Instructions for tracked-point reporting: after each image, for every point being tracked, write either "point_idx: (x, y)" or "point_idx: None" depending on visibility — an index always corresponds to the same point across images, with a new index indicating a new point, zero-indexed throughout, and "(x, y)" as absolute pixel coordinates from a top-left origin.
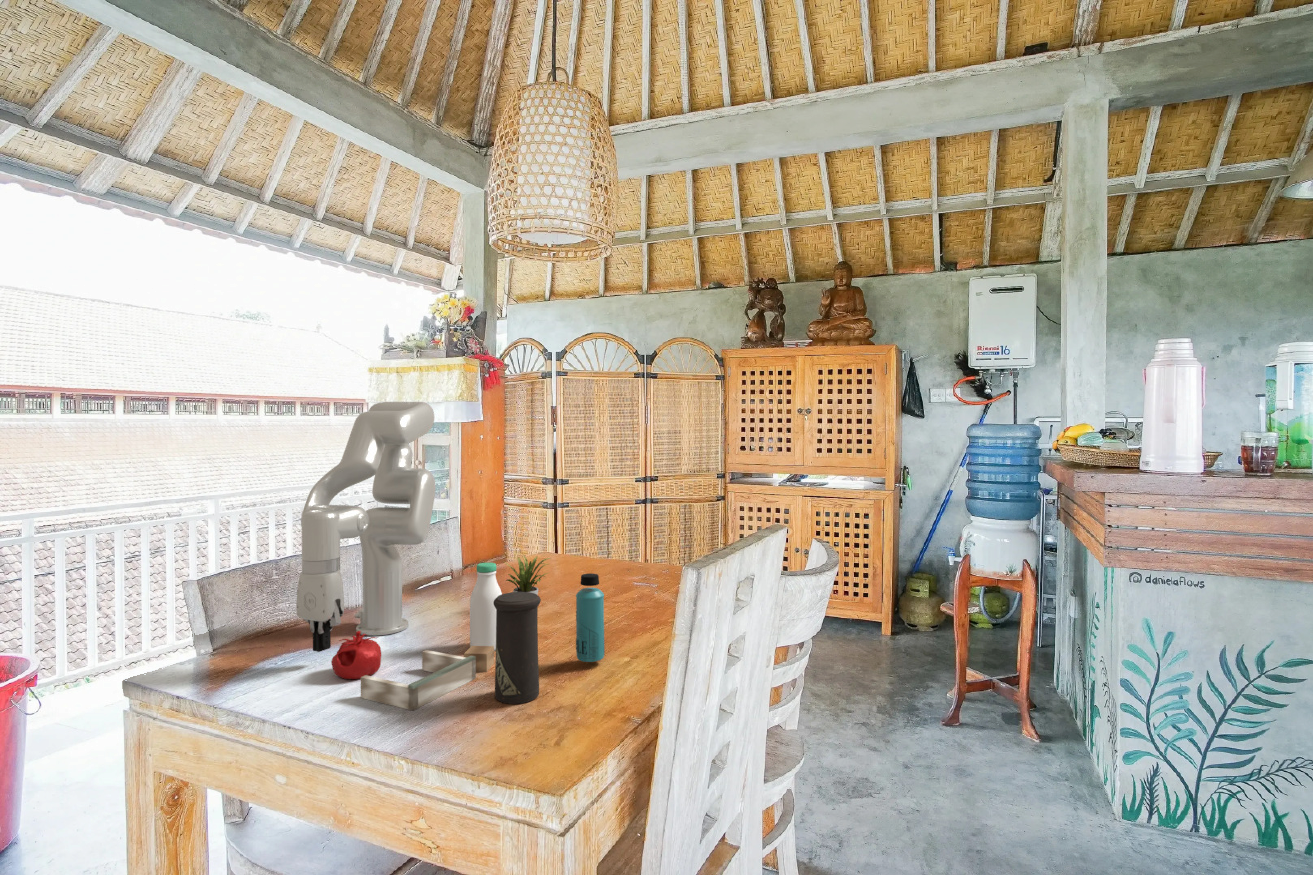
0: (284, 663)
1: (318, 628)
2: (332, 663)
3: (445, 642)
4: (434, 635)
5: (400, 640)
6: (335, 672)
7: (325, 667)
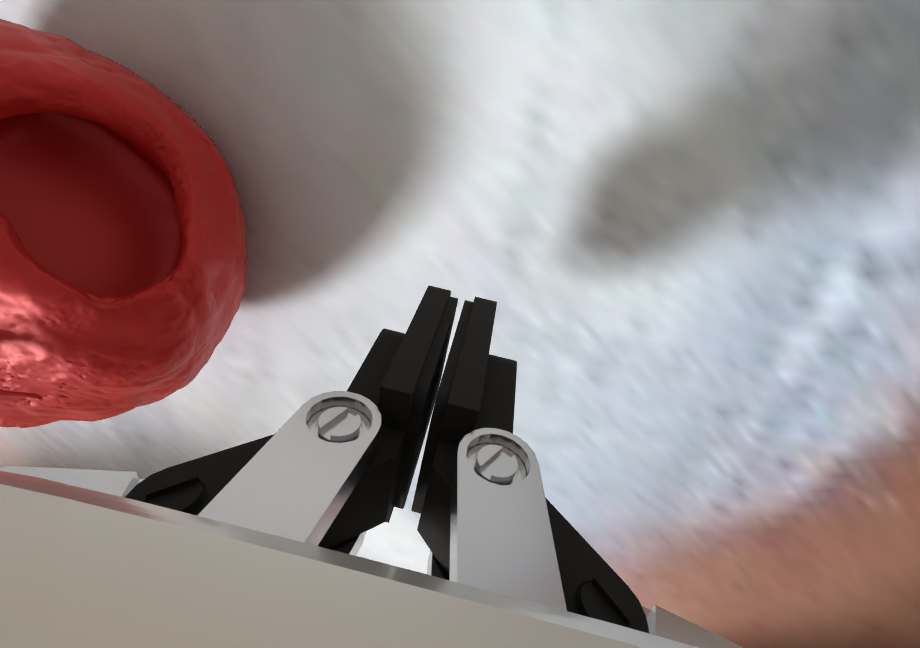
0: (793, 280)
1: (357, 452)
2: (65, 54)
3: None
4: None
5: None
6: (113, 61)
7: (424, 263)
